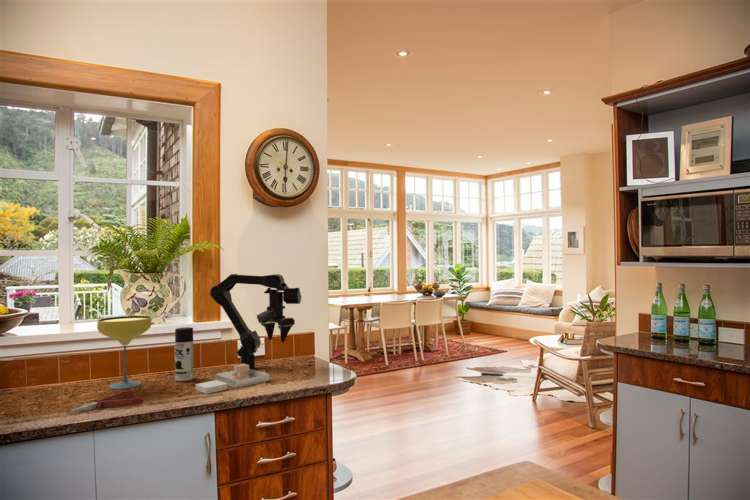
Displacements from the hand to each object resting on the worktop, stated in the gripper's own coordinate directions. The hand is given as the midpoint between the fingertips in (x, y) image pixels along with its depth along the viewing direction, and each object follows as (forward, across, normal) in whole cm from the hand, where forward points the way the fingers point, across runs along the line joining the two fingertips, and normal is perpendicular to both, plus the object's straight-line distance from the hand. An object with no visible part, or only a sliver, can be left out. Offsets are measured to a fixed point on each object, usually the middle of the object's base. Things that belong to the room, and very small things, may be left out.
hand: (276, 340), depth 203 cm
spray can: (+12, -13, -34) cm, 38 cm away
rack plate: (+12, +6, -20) cm, 24 cm away
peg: (+12, +6, -20) cm, 24 cm away
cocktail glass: (+12, -21, -53) cm, 58 cm away
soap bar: (+12, +9, -34) cm, 37 cm away
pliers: (+13, 0, -65) cm, 66 cm away
